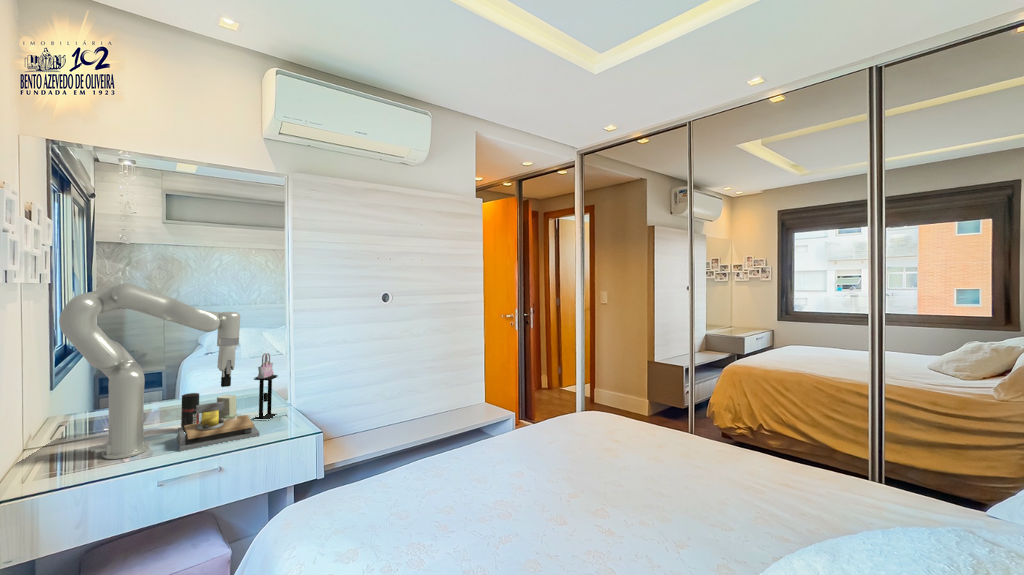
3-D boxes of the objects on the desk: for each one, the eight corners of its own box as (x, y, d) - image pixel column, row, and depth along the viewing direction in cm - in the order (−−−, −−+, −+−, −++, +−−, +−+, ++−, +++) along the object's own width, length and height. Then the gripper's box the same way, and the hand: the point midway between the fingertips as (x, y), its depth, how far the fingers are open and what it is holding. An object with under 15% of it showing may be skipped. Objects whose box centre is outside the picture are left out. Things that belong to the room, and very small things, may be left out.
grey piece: (180, 451, 160) (180, 438, 160) (176, 439, 170) (177, 427, 170) (259, 436, 177) (259, 424, 177) (252, 426, 188) (252, 414, 188)
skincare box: (236, 422, 192) (237, 395, 191) (229, 425, 187) (229, 398, 187) (223, 421, 192) (224, 394, 192) (215, 424, 188) (216, 397, 188)
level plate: (187, 439, 161) (188, 412, 161) (184, 428, 172) (184, 403, 171) (254, 427, 176) (254, 402, 175) (246, 417, 186) (247, 394, 186)
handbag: (266, 421, 194) (268, 355, 193) (250, 421, 194) (251, 355, 193) (279, 414, 204) (281, 351, 203) (263, 413, 204) (265, 350, 203)
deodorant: (191, 433, 177) (192, 397, 177) (177, 432, 177) (178, 396, 177) (202, 428, 183) (202, 393, 183) (188, 427, 183) (189, 392, 183)
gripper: (214, 339, 180) (212, 383, 180) (219, 345, 169) (217, 391, 169) (235, 339, 185) (233, 381, 185) (241, 344, 174) (239, 389, 174)
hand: (225, 386), depth 177 cm, fingers closed
